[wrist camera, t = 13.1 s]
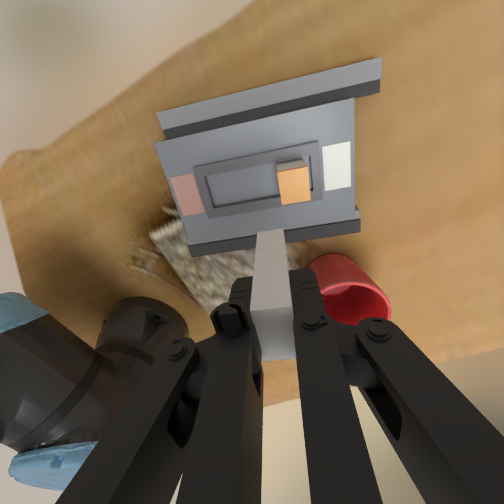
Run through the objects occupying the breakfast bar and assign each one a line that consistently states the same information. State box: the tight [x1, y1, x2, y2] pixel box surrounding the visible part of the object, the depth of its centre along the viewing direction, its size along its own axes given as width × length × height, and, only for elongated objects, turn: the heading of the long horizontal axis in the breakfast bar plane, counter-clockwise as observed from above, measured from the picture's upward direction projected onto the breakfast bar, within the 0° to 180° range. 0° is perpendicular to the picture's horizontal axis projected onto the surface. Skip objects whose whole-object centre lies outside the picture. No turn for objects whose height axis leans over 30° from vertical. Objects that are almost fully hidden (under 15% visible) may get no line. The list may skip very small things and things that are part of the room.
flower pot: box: [308, 254, 391, 326], centre depth 36 cm, size 11×11×10 cm
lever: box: [276, 158, 311, 205], centre depth 28 cm, size 3×3×5 cm
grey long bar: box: [157, 57, 382, 140], centre depth 28 cm, size 24×3×2 cm, turn 102°
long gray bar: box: [186, 207, 360, 257], centre depth 36 cm, size 24×3×2 cm, turn 102°
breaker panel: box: [154, 98, 355, 243], centre depth 31 cm, size 22×13×4 cm, turn 102°
